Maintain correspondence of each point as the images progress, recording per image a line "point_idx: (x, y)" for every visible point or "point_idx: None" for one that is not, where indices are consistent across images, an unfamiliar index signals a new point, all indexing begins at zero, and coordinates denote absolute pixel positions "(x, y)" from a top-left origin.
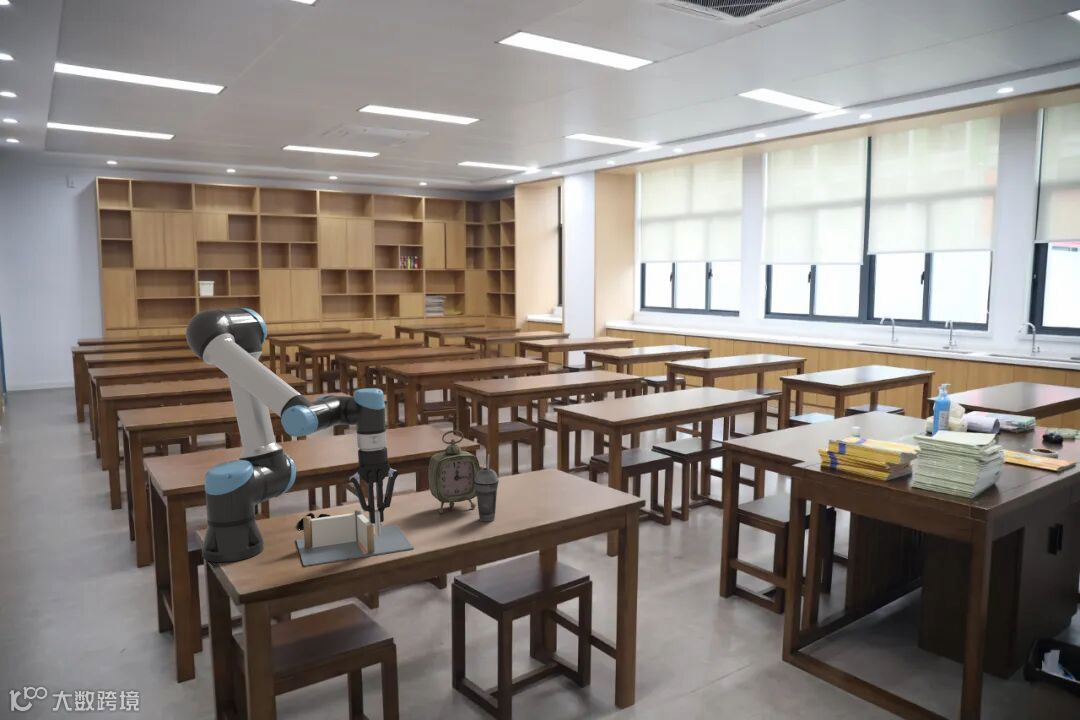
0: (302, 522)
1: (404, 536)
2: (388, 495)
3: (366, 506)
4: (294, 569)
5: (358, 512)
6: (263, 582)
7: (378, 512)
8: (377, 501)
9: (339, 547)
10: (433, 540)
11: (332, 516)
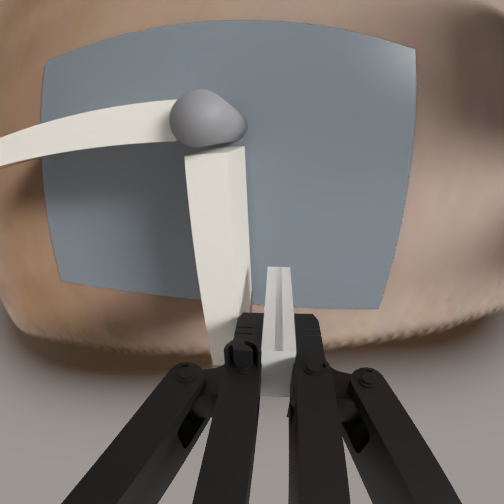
0: None
1: (405, 191)
2: (365, 475)
3: (198, 427)
4: (50, 282)
5: (194, 146)
6: (24, 310)
7: (281, 394)
8: (293, 423)
9: (142, 184)
10: (453, 263)
11: (57, 128)
